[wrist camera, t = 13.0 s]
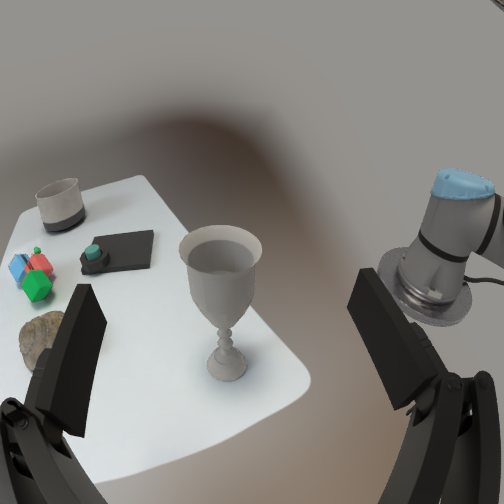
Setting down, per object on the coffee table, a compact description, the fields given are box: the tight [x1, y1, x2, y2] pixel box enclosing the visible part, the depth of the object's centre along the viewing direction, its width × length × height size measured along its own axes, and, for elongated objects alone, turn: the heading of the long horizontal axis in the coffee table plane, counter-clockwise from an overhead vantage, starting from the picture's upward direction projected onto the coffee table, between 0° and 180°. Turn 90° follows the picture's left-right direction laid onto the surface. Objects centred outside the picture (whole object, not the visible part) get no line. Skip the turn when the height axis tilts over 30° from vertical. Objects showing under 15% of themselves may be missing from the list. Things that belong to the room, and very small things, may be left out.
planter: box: [35, 178, 85, 231], centre depth 59 cm, size 13×13×10 cm
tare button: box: [85, 244, 101, 261], centre depth 46 cm, size 3×3×2 cm
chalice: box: [179, 225, 262, 381], centre depth 28 cm, size 7×7×18 cm
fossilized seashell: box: [19, 311, 65, 371], centre depth 30 cm, size 11×11×7 cm
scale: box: [80, 230, 154, 275], centre depth 51 cm, size 14×13×3 cm
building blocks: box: [8, 247, 53, 302], centre depth 39 cm, size 8×8×12 cm
